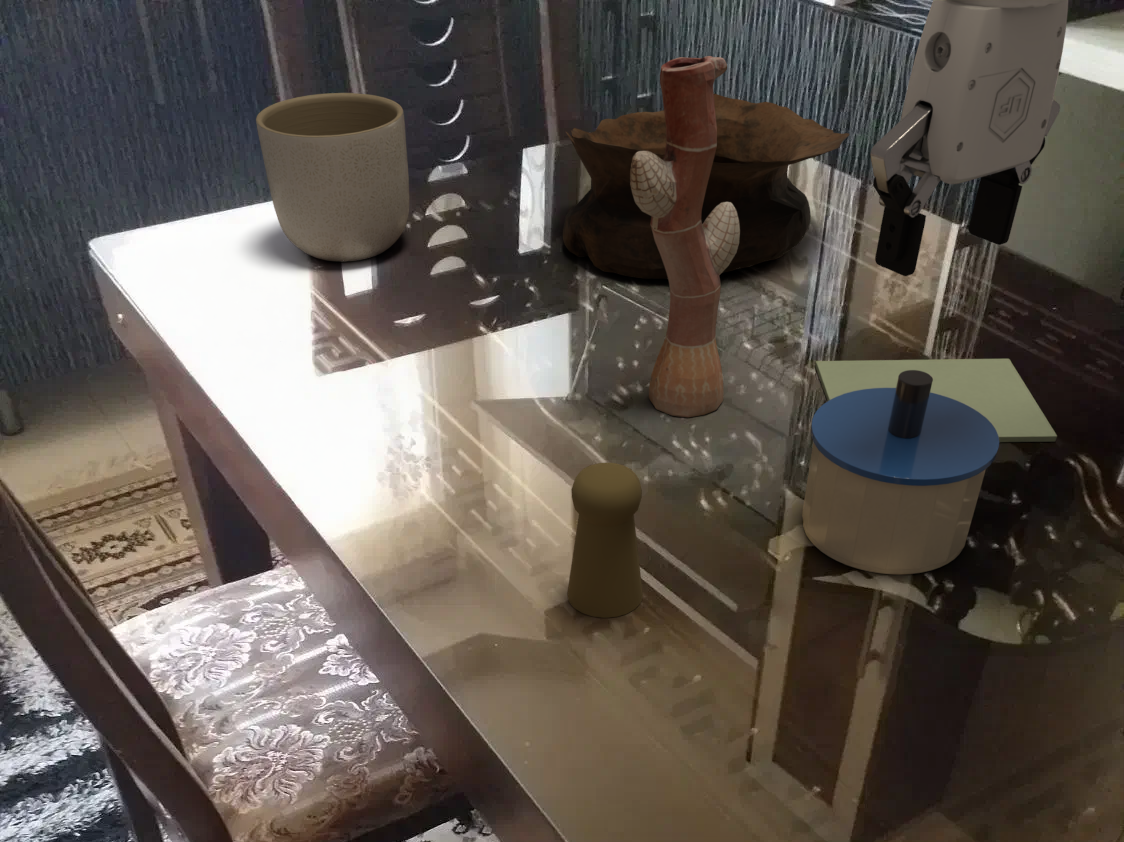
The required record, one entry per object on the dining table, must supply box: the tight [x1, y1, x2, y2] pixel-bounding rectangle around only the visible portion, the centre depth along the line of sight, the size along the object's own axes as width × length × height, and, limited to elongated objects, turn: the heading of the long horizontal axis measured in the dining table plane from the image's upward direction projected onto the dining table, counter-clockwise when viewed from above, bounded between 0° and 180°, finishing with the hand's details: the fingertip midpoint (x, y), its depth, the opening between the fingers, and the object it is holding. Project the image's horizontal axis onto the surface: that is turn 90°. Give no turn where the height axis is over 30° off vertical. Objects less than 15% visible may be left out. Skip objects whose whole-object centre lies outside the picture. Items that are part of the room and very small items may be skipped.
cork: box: [566, 461, 644, 619], centre depth 88 cm, size 6×6×11 cm
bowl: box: [562, 93, 851, 280], centre depth 139 cm, size 34×33×15 cm
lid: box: [810, 370, 1000, 486], centre depth 90 cm, size 15×15×6 cm
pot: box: [801, 441, 987, 575], centre depth 95 cm, size 14×14×8 cm
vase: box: [630, 55, 740, 418], centre depth 104 cm, size 10×7×30 cm
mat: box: [814, 358, 1058, 443], centre depth 113 cm, size 20×16×1 cm
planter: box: [255, 92, 410, 263], centre depth 138 cm, size 17×17×15 cm
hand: (941, 253), depth 82 cm, fingers open, 9 cm apart
